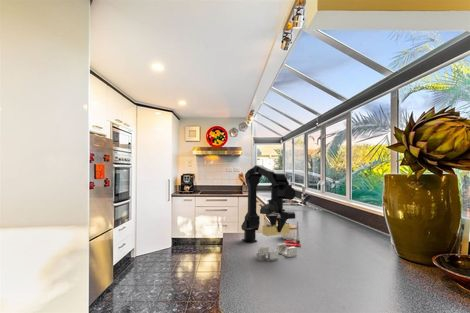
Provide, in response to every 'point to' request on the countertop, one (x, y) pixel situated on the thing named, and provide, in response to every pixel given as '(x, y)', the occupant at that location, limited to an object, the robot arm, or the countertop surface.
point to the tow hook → (296, 240)
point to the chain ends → (275, 252)
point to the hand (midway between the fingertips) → (276, 231)
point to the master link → (275, 229)
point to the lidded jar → (290, 233)
